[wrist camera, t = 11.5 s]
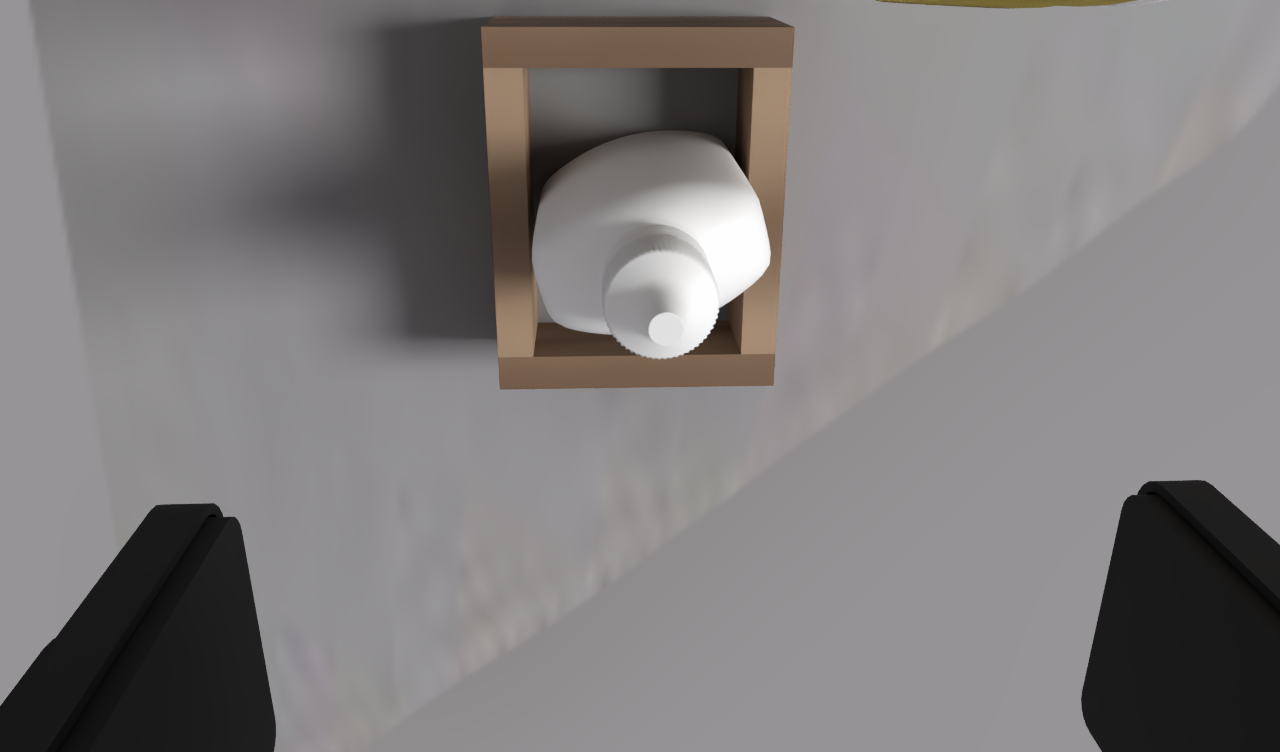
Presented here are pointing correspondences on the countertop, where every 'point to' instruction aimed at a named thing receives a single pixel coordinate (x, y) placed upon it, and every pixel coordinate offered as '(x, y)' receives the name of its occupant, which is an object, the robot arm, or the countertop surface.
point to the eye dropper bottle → (648, 240)
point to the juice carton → (1024, 3)
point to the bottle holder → (607, 110)
